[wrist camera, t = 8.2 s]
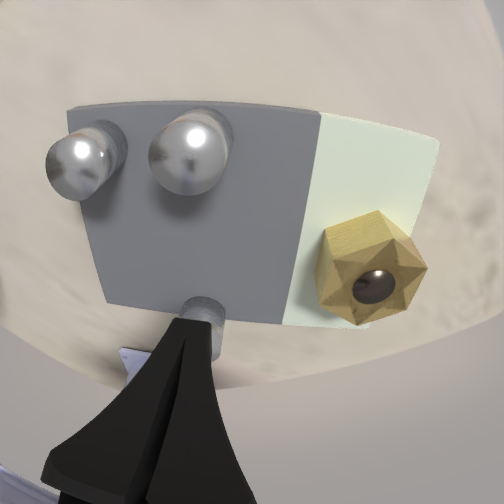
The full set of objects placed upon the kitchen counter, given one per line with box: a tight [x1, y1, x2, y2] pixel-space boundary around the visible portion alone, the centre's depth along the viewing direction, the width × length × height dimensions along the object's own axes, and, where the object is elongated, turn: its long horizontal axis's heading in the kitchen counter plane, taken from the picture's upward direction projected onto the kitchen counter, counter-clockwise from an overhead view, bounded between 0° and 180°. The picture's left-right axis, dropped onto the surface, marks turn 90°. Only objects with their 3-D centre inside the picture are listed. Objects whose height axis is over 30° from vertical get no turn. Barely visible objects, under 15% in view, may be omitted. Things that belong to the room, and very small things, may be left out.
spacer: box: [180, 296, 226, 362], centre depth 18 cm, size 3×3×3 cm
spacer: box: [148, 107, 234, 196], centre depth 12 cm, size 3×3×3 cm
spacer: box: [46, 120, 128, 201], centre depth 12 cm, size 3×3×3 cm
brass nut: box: [314, 210, 428, 326], centre depth 15 cm, size 6×5×3 cm
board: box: [67, 101, 441, 329], centre depth 16 cm, size 13×18×1 cm
